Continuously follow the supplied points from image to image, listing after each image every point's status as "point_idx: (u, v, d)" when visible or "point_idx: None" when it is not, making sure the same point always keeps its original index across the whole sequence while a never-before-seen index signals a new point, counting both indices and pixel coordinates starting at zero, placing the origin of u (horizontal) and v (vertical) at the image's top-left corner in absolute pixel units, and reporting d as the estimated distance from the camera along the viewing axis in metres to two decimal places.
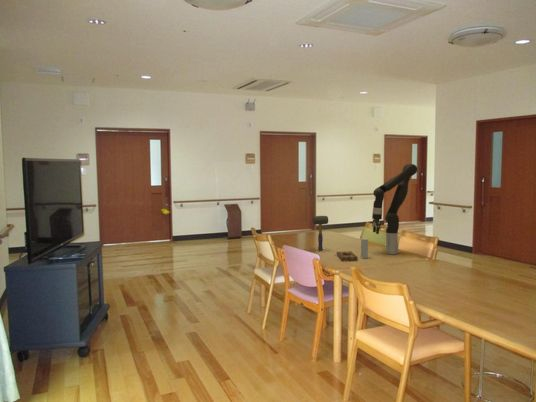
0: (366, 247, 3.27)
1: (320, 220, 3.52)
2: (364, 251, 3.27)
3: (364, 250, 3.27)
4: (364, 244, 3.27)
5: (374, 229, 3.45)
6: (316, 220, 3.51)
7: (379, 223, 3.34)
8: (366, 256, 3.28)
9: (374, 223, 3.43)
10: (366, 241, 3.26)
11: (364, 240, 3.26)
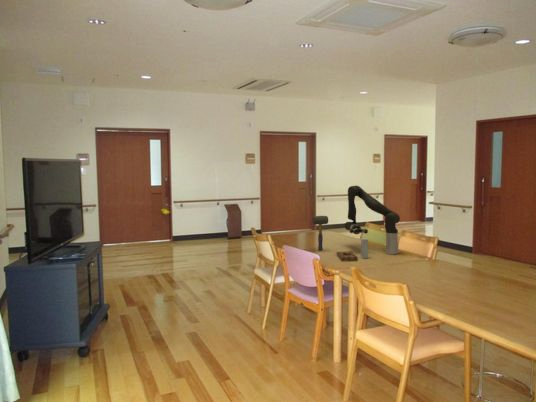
0: (366, 247, 3.27)
1: (320, 220, 3.52)
2: (364, 251, 3.27)
3: (364, 250, 3.27)
4: (364, 244, 3.27)
5: (364, 232, 3.42)
6: (316, 220, 3.51)
7: None
8: (366, 256, 3.28)
9: (360, 232, 3.47)
10: (366, 241, 3.26)
11: (364, 240, 3.26)
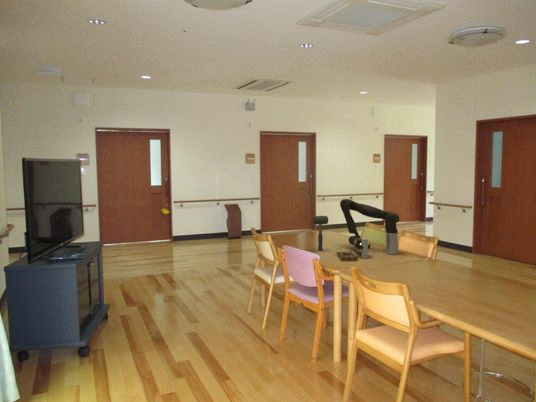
0: (366, 247, 3.27)
1: (320, 220, 3.52)
2: (364, 251, 3.27)
3: (364, 250, 3.27)
4: (364, 244, 3.27)
5: None
6: (316, 220, 3.51)
7: (354, 245, 3.35)
8: (366, 256, 3.28)
9: None
10: (366, 241, 3.26)
11: (364, 240, 3.26)
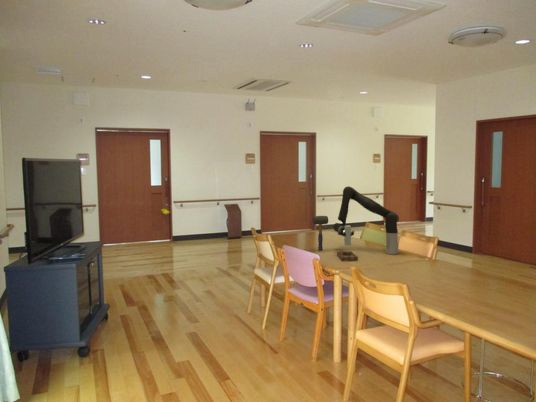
0: (349, 234, 3.26)
1: (320, 220, 3.52)
2: (347, 238, 3.26)
3: (347, 237, 3.26)
4: (347, 231, 3.25)
5: None
6: (316, 220, 3.51)
7: (338, 232, 3.33)
8: (349, 243, 3.26)
9: None
10: (349, 228, 3.25)
11: (347, 227, 3.25)
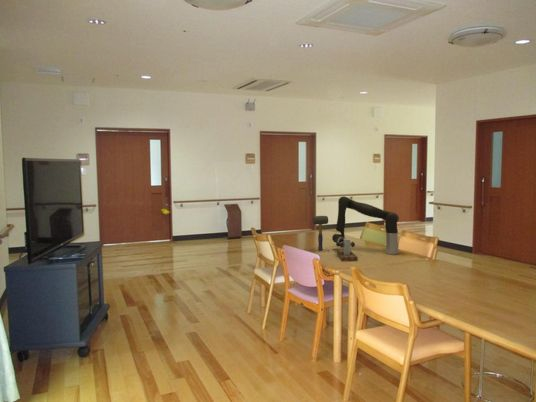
0: (348, 247, 3.26)
1: (320, 220, 3.52)
2: (346, 251, 3.27)
3: (346, 250, 3.26)
4: (346, 244, 3.26)
5: (351, 245, 3.29)
6: (316, 220, 3.51)
7: (336, 243, 3.35)
8: None
9: None
10: (348, 241, 3.26)
11: (346, 240, 3.26)
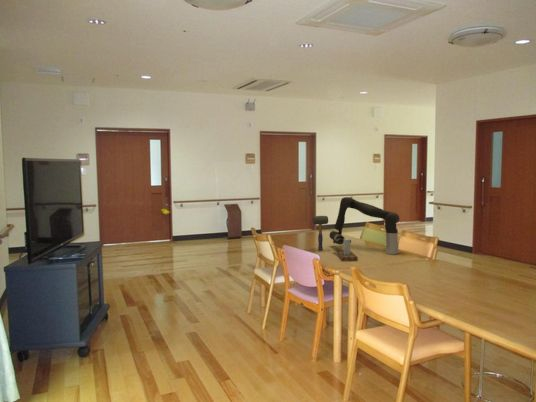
0: (348, 247, 3.26)
1: (320, 220, 3.52)
2: (346, 251, 3.27)
3: (346, 250, 3.26)
4: (346, 244, 3.26)
5: None
6: (316, 220, 3.51)
7: (333, 240, 3.48)
8: None
9: None
10: (348, 241, 3.26)
11: (346, 240, 3.26)
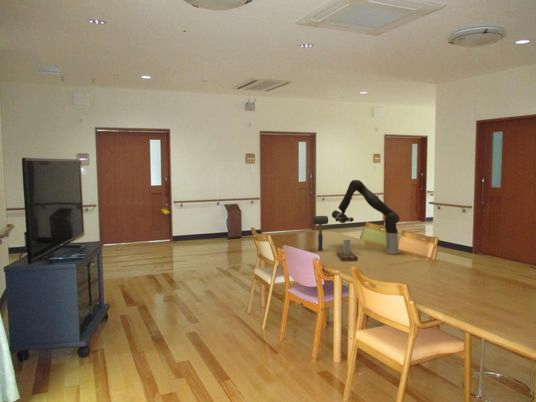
0: (348, 247, 3.26)
1: (320, 220, 3.52)
2: (346, 251, 3.27)
3: (346, 250, 3.26)
4: (346, 244, 3.26)
5: (350, 220, 3.40)
6: (316, 220, 3.51)
7: (335, 219, 3.47)
8: None
9: (346, 220, 3.46)
10: (348, 241, 3.26)
11: (346, 240, 3.26)
